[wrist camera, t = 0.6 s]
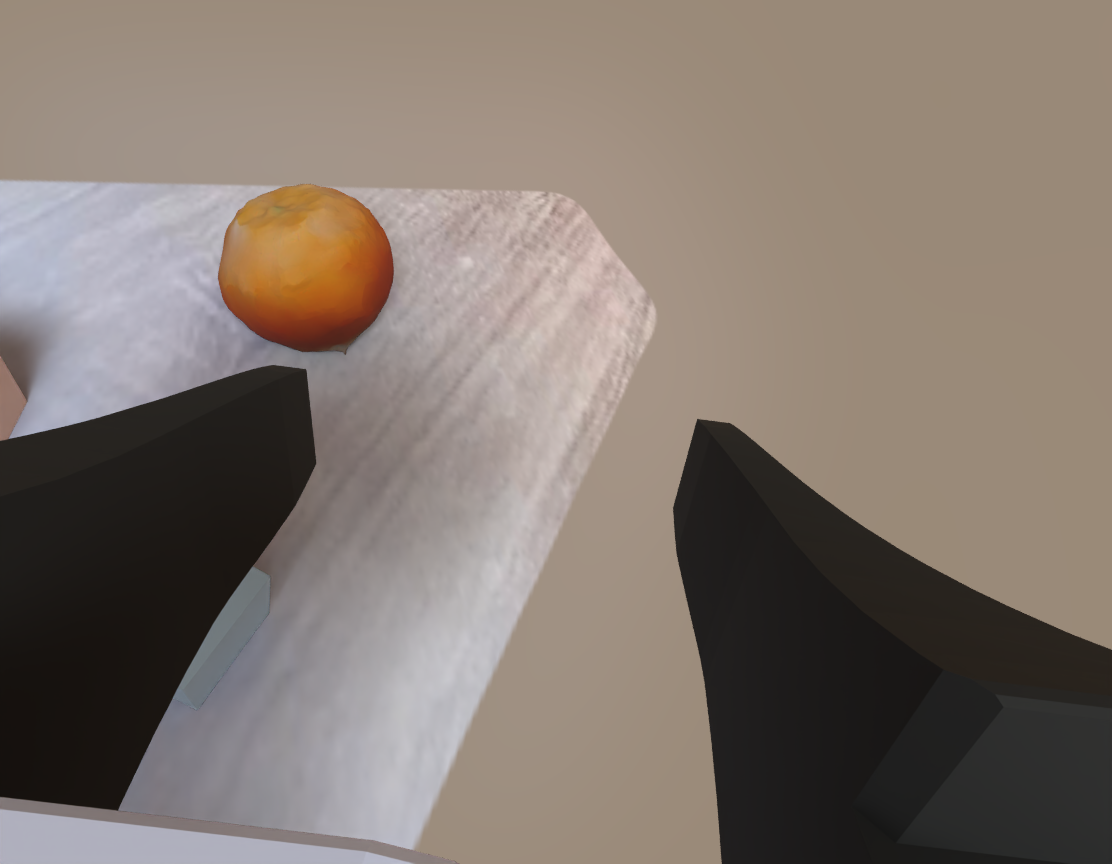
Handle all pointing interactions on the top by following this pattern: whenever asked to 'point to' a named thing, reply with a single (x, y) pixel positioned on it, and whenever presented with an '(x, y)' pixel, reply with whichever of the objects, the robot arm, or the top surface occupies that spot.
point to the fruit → (306, 267)
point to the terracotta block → (9, 402)
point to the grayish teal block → (226, 638)
